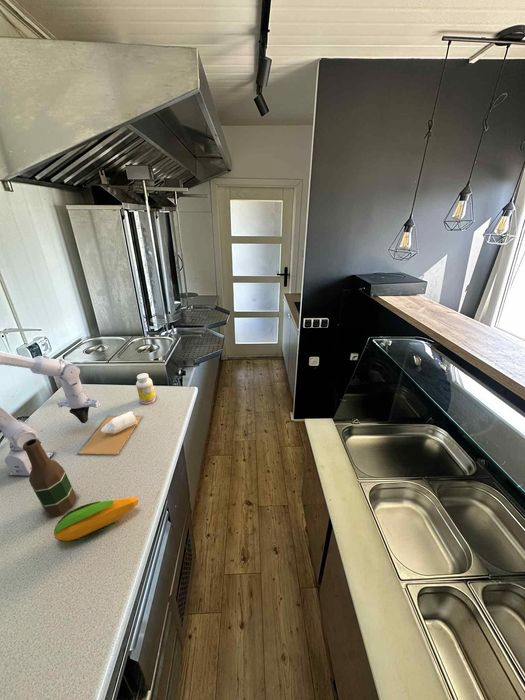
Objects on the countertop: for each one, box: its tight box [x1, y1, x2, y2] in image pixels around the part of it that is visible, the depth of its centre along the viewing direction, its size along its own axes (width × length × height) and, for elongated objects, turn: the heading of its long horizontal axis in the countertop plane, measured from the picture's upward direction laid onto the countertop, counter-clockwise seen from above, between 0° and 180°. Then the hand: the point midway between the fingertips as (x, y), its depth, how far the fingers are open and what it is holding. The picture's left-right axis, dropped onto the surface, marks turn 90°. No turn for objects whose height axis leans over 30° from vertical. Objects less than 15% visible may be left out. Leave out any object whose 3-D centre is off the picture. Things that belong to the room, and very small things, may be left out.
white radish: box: [101, 410, 138, 433], centre depth 110 cm, size 6×12×6 cm, turn 133°
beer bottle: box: [23, 438, 77, 517], centre depth 78 cm, size 8×8×24 cm
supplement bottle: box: [135, 372, 157, 405], centre depth 126 cm, size 7×7×13 cm
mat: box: [78, 416, 142, 456], centre depth 109 cm, size 20×14×1 cm
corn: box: [53, 496, 139, 543], centre depth 76 cm, size 7×8×20 cm
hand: (85, 421), depth 109 cm, fingers closed
